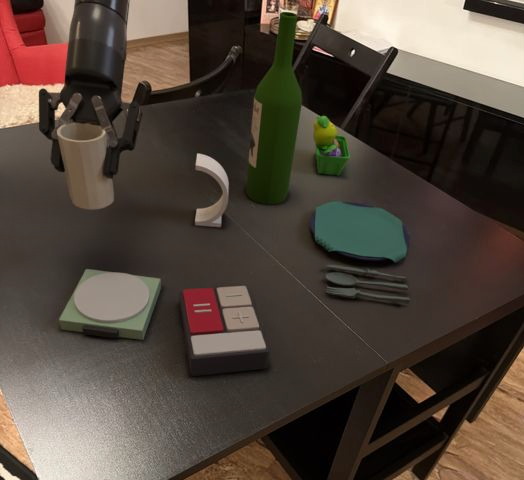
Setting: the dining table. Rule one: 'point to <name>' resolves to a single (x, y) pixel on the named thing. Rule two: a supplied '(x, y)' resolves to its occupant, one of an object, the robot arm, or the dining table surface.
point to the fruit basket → (329, 147)
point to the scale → (111, 305)
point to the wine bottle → (275, 122)
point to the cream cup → (85, 164)
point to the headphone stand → (214, 212)
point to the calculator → (222, 330)
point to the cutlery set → (360, 243)
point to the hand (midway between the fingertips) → (84, 173)
